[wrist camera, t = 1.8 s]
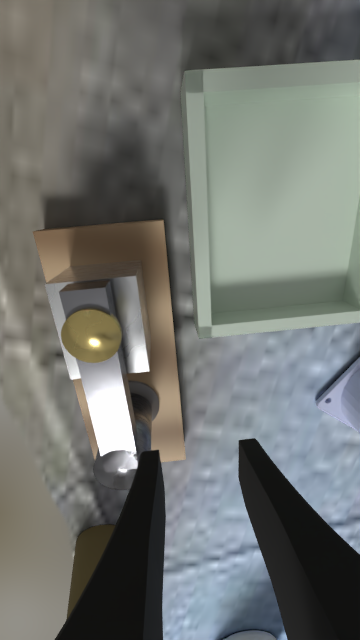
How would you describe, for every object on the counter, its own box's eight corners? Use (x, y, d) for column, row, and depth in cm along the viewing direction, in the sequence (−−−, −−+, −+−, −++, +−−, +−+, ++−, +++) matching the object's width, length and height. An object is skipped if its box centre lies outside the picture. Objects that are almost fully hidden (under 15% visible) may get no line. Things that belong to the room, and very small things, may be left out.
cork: (90, 518, 26) (48, 713, 16) (147, 533, 28) (141, 721, 18) (66, 553, 28) (15, 749, 18) (121, 566, 30) (102, 753, 20)
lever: (154, 425, 20) (153, 489, 15) (111, 430, 19) (98, 496, 15) (131, 263, 15) (119, 287, 11) (75, 268, 15) (41, 294, 11)
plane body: (183, 443, 24) (186, 462, 22) (101, 453, 23) (96, 473, 22) (162, 219, 16) (163, 221, 15) (44, 229, 16) (30, 232, 14)
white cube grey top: (151, 338, 18) (149, 371, 14) (88, 344, 18) (70, 379, 14) (140, 259, 16) (135, 275, 12) (69, 266, 16) (44, 284, 12)
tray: (347, 307, 20) (372, 321, 17) (194, 323, 19) (199, 338, 17) (387, 77, 15) (428, 55, 12) (180, 91, 14) (184, 70, 12)
